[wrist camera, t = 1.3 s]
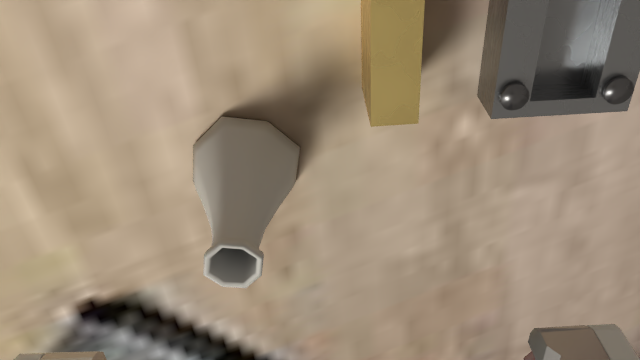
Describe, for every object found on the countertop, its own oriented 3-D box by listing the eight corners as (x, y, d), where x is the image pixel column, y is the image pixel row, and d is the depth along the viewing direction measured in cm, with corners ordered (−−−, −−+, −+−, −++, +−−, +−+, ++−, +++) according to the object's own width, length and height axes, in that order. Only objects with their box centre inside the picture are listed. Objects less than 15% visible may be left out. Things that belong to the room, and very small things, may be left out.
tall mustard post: (359, -134, 28) (370, -120, 24) (411, -138, 28) (431, -124, 24) (361, 86, 35) (370, 126, 31) (403, 83, 35) (418, 123, 31)
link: (496, -57, 30) (517, -40, 27) (645, -65, 30) (681, -49, 27) (477, 95, 35) (493, 122, 33) (604, 88, 35) (630, 114, 33)
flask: (318, 139, 37) (326, 240, 29) (274, 218, 40) (269, 328, 32) (213, 97, 35) (188, 193, 27) (176, 183, 38) (144, 291, 30)
